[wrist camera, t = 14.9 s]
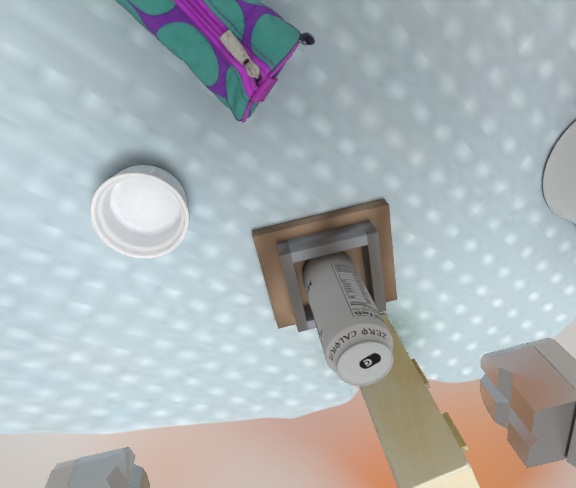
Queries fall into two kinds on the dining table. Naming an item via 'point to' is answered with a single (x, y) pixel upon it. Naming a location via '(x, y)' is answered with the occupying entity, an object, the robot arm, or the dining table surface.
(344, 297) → the energy drink can
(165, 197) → the ramekin
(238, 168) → the dining table surface
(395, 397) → the toy refrigerator
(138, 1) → the pencil case
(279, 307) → the jig board
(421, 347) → the dining table surface
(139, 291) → the dining table surface
